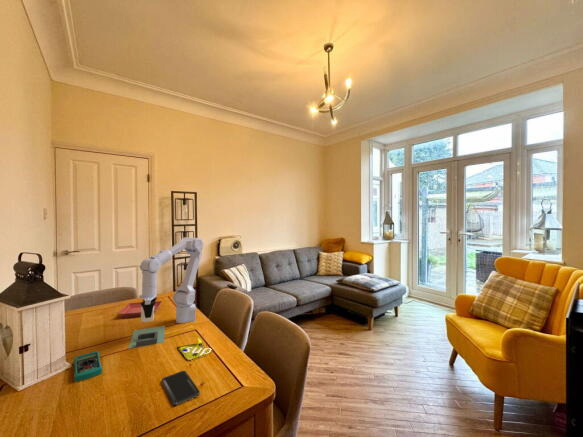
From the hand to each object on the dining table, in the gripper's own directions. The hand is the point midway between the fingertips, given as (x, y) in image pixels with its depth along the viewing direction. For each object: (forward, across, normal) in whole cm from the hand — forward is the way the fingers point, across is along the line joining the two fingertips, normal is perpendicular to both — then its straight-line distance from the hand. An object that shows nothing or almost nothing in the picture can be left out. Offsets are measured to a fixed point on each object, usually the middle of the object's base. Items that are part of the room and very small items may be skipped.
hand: (148, 315), depth 113 cm
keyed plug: (+2, 0, 0) cm, 2 cm away
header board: (+10, +1, 0) cm, 10 cm away
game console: (+11, +17, +18) cm, 27 cm away
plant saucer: (+10, -36, -6) cm, 38 cm away
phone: (+11, +41, +13) cm, 45 cm away
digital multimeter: (+11, +18, -17) cm, 27 cm away
